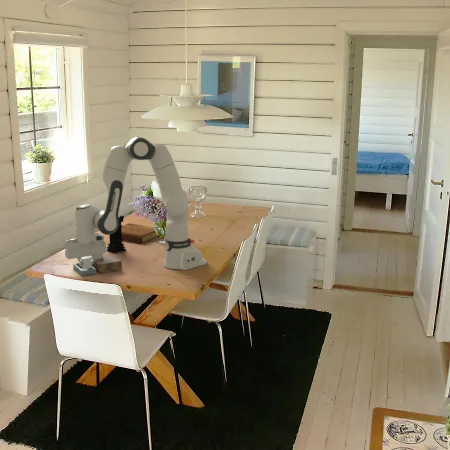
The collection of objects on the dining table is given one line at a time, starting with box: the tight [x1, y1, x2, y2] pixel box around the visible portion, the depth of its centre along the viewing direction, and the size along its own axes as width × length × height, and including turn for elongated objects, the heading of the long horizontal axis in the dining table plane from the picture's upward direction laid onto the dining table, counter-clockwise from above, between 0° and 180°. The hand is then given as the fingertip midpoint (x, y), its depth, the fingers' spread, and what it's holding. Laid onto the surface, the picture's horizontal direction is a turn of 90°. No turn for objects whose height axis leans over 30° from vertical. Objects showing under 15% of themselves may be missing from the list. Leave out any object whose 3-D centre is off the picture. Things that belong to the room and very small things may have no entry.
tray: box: [72, 262, 97, 277], centre depth 294 cm, size 7×14×2 cm, turn 32°
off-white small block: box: [80, 256, 92, 269], centre depth 291 cm, size 4×4×5 cm
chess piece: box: [106, 215, 127, 255], centre depth 326 cm, size 8×8×20 cm
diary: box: [121, 222, 158, 245], centre depth 353 cm, size 23×19×6 cm
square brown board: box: [90, 252, 123, 275], centre depth 299 cm, size 12×14×5 cm
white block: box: [95, 254, 104, 259], centre depth 299 cm, size 4×4×5 cm
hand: (86, 264), depth 291 cm, fingers closed on off-white small block, 4 cm apart
